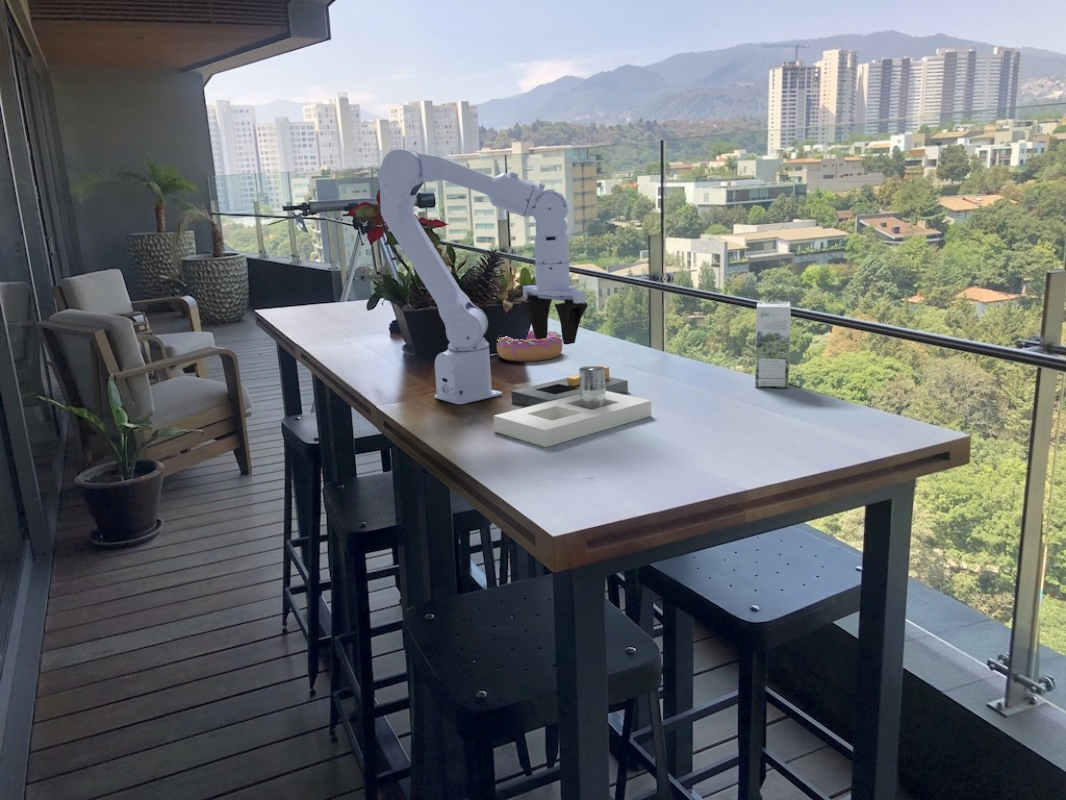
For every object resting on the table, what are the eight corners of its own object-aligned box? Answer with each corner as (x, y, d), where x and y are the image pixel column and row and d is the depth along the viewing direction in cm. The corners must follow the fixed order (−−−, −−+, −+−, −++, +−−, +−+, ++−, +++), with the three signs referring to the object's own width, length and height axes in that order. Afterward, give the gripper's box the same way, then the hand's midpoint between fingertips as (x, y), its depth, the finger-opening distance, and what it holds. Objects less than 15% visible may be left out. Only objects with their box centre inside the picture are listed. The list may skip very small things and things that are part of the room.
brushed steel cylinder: (594, 422, 134) (592, 372, 133) (575, 418, 137) (574, 369, 135) (611, 417, 137) (610, 368, 135) (592, 413, 140) (591, 364, 138)
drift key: (576, 386, 150) (576, 375, 149) (564, 383, 152) (564, 372, 151) (609, 378, 154) (609, 367, 154) (597, 375, 157) (597, 365, 156)
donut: (522, 348, 198) (521, 327, 197) (575, 353, 190) (574, 330, 189) (483, 360, 187) (482, 337, 185) (538, 366, 179) (537, 342, 177)
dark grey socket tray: (550, 412, 142) (549, 400, 141) (511, 402, 149) (511, 391, 149) (627, 391, 153) (627, 380, 153) (588, 383, 161) (588, 372, 160)
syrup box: (788, 381, 155) (790, 300, 152) (788, 389, 150) (790, 305, 146) (755, 380, 157) (756, 300, 153) (754, 388, 151) (755, 305, 148)
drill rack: (545, 447, 123) (545, 430, 123) (494, 431, 132) (493, 415, 132) (651, 415, 137) (651, 400, 136) (598, 403, 146) (597, 389, 145)
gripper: (598, 262, 145) (600, 342, 148) (543, 258, 156) (546, 333, 159) (566, 266, 141) (569, 348, 144) (512, 262, 152) (515, 338, 155)
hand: (554, 341), depth 152 cm, fingers open, 7 cm apart
